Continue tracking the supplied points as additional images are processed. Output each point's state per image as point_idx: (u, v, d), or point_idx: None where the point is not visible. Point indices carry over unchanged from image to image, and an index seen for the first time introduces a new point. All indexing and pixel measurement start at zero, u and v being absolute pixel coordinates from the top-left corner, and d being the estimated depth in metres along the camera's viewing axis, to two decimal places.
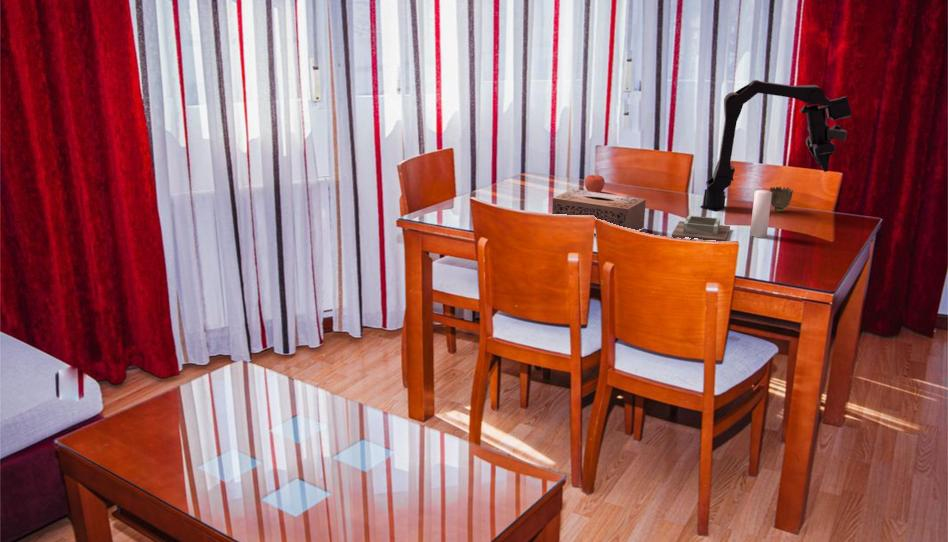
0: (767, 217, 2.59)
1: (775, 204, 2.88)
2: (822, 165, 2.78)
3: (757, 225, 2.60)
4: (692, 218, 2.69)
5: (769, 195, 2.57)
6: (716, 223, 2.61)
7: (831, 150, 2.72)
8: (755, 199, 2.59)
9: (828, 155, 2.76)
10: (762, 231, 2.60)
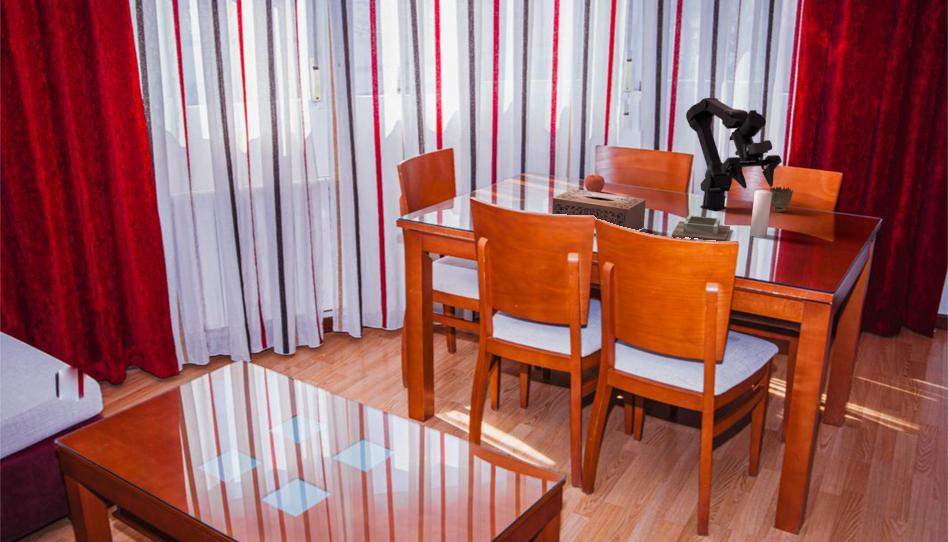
0: (767, 217, 2.59)
1: (775, 204, 2.88)
2: (739, 182, 2.67)
3: (757, 225, 2.60)
4: (692, 218, 2.69)
5: (769, 195, 2.57)
6: (716, 223, 2.61)
7: (727, 164, 2.66)
8: (755, 199, 2.59)
9: (737, 170, 2.66)
10: (762, 231, 2.60)
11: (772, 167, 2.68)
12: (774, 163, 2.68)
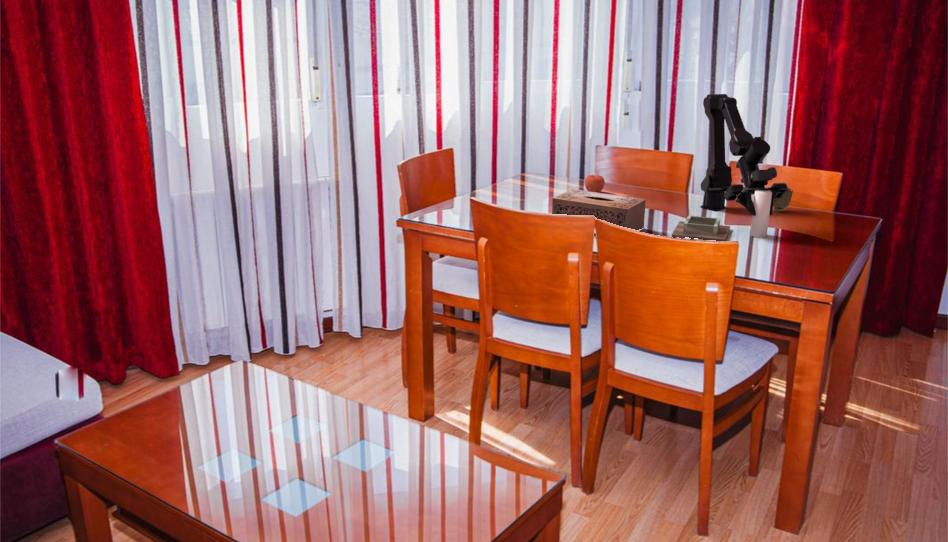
0: (767, 217, 2.59)
1: (775, 204, 2.88)
2: (748, 210, 2.61)
3: (757, 225, 2.60)
4: (692, 218, 2.69)
5: (769, 195, 2.57)
6: (716, 223, 2.61)
7: (730, 191, 2.60)
8: (755, 199, 2.59)
9: (746, 198, 2.61)
10: (762, 231, 2.60)
11: (772, 195, 2.61)
12: (774, 191, 2.61)
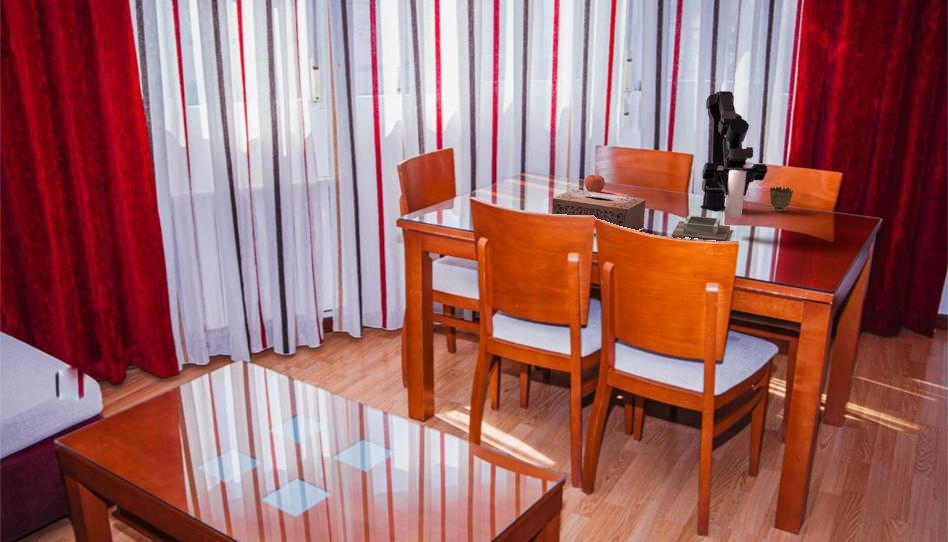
0: (740, 197, 2.57)
1: (775, 204, 2.88)
2: (722, 189, 2.60)
3: (729, 204, 2.58)
4: (692, 218, 2.69)
5: (741, 175, 2.54)
6: (716, 223, 2.61)
7: (704, 169, 2.60)
8: (728, 178, 2.57)
9: None
10: (734, 211, 2.58)
11: (748, 175, 2.58)
12: (751, 171, 2.57)
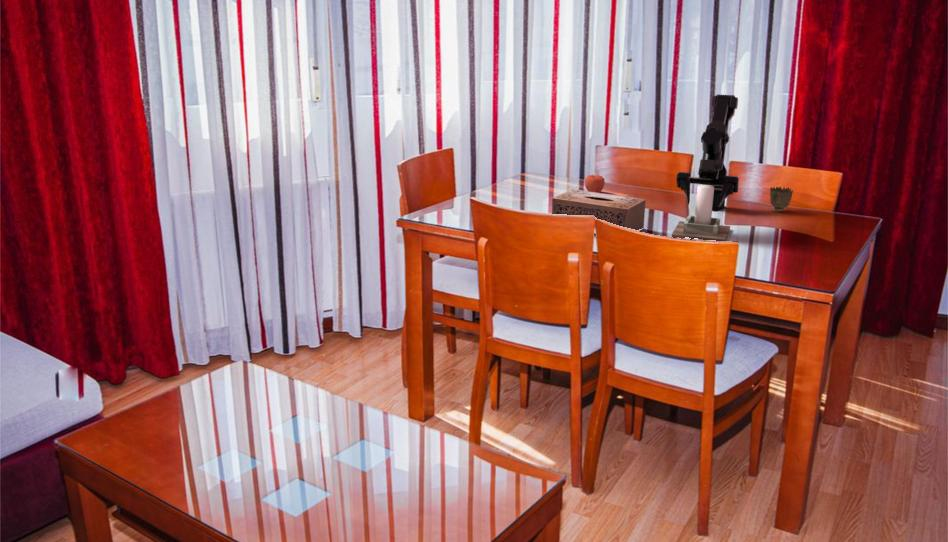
0: (706, 212, 2.60)
1: (775, 204, 2.88)
2: None
3: (696, 218, 2.62)
4: (692, 218, 2.69)
5: (707, 190, 2.58)
6: (716, 223, 2.61)
7: None
8: (697, 193, 2.62)
9: None
10: None
11: (725, 187, 2.59)
12: (727, 183, 2.59)
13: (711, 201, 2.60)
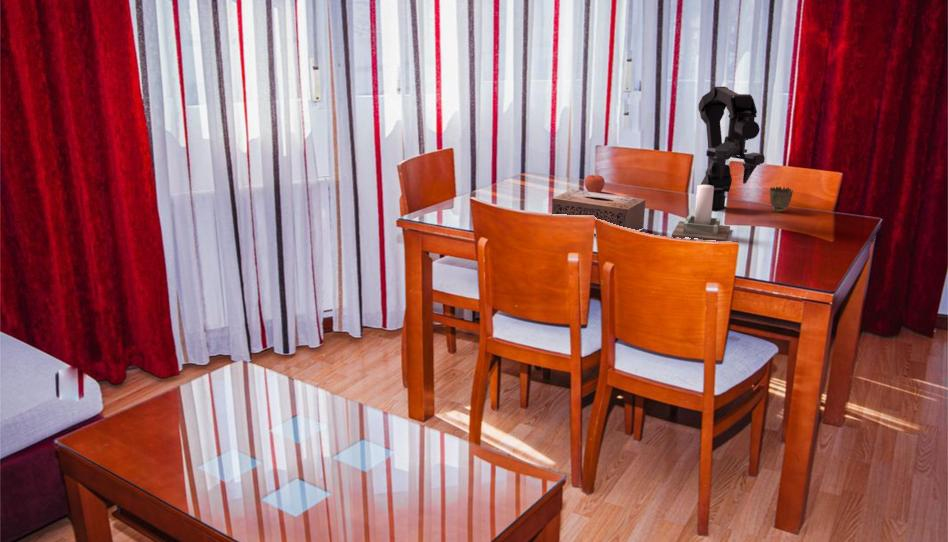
0: (706, 212, 2.60)
1: (775, 204, 2.88)
2: None
3: (696, 218, 2.63)
4: (692, 218, 2.69)
5: (707, 190, 2.58)
6: (716, 223, 2.61)
7: None
8: None
9: None
10: None
11: (745, 167, 2.70)
12: (745, 165, 2.69)
13: (711, 201, 2.60)
